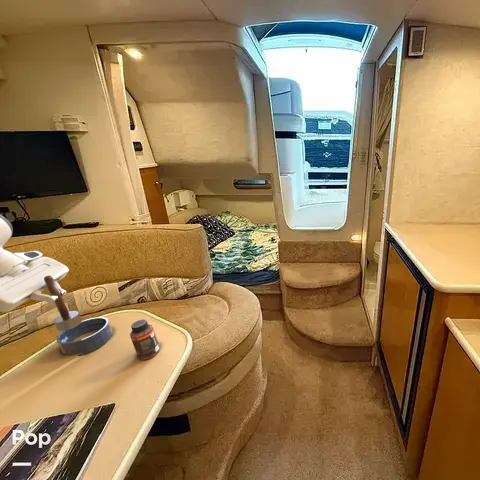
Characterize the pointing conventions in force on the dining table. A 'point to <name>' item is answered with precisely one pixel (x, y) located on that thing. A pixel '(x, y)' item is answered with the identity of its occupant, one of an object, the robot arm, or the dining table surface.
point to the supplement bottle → (144, 339)
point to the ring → (88, 342)
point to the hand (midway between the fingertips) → (59, 297)
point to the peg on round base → (62, 309)
